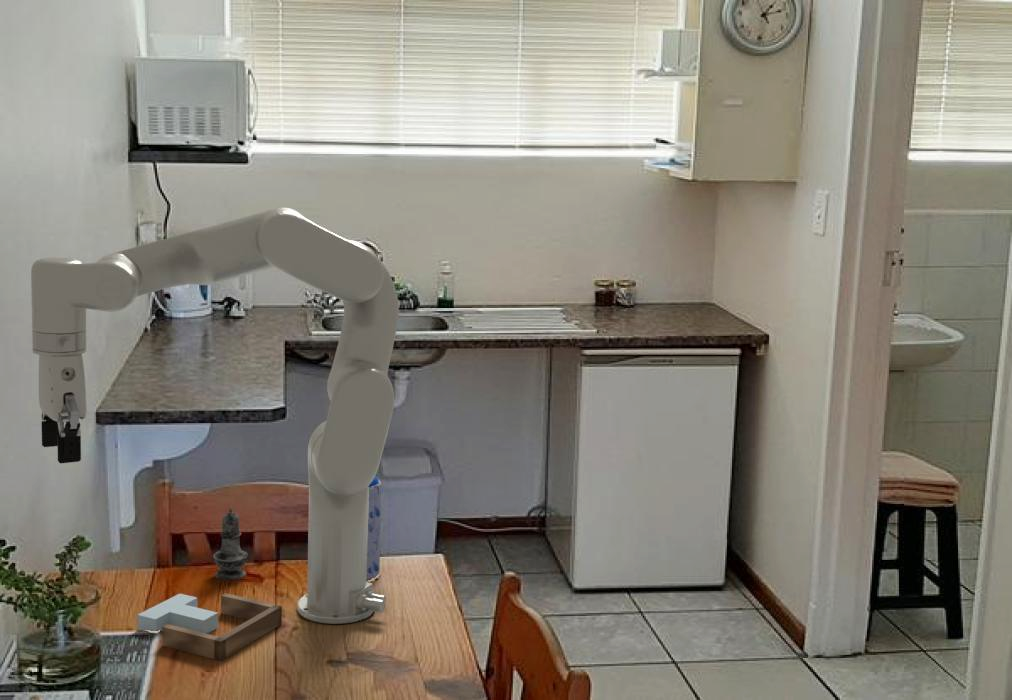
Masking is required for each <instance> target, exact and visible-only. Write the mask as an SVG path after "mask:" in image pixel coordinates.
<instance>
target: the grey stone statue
mask: <svg viewBox="0 0 1012 700" xmlns="http://www.w3.org/2000/svg"><path fill="white" fill-rule="evenodd" d="M221 522H222V526H221V527H222V529H221V530H222V532H220V533H219V535H220V537H221V546H220V547H221V548H220V550H218V551H216V552H215V553H213V556H212V557H213V559H214V562H215V564H216V566H217V568H218V569H219V570H217V571H216V572H215V573H214V577H215V578H216V579H218V578H219V579H218V580H221V579H223V581H236V580H241V579H242V578H244V577H246V576H247V571H245V570H243V569H242V568H243V566H245V563H246V561H247V558H248V557H249V554H248V552H247V551H244V550H243V549H241V546H240V537H241V536H242V532H240V517H239V515H238V514H237V513H235V512H233V509H232V508H229V509H228V513H225V514H224V515H223V516H222V521H221Z"/></svg>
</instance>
